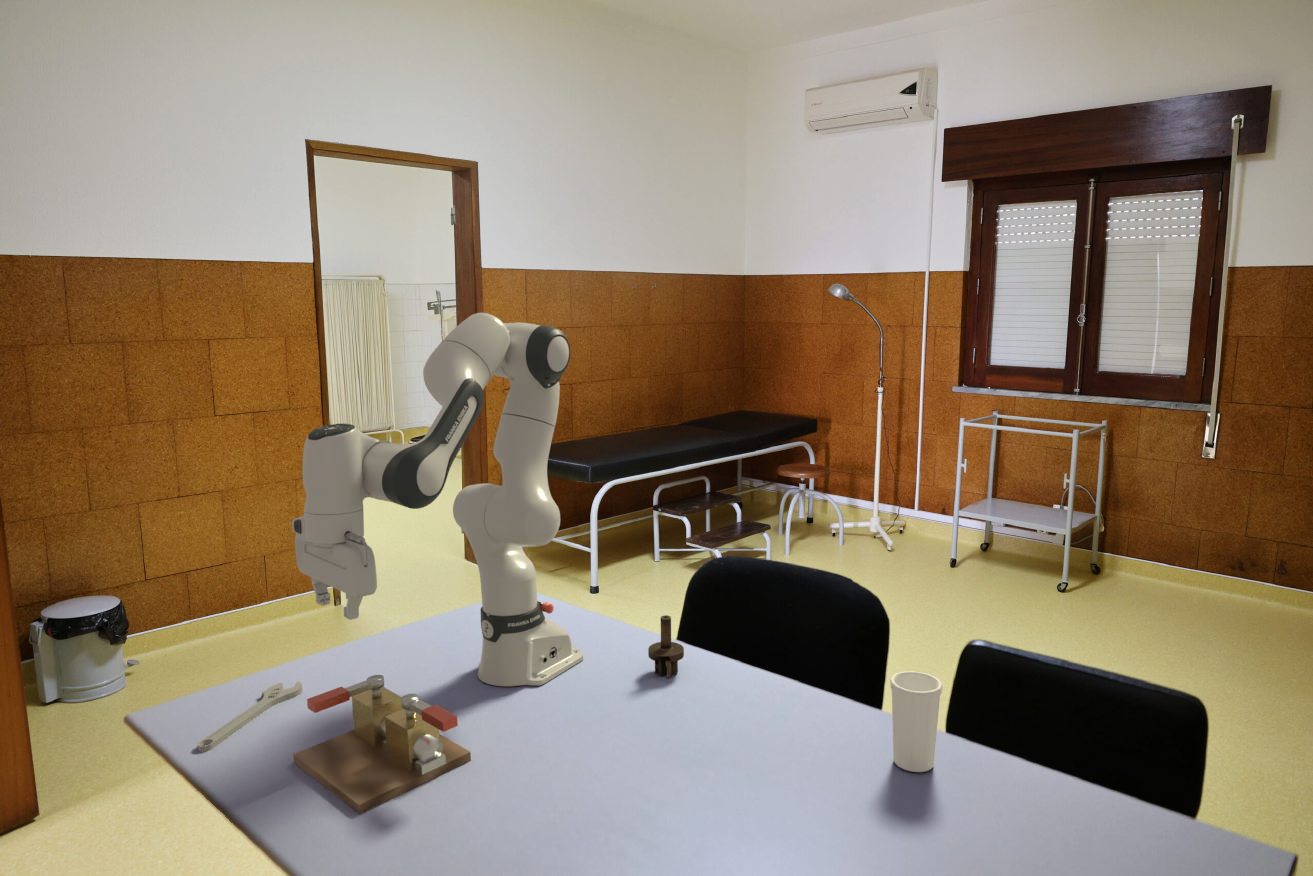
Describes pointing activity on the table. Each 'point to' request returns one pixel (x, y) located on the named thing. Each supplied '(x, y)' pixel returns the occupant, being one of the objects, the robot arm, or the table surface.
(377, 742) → the pipe manifold
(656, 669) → the industrial component
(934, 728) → the cup
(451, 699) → the table surface
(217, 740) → the adjustable wrench
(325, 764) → the base board
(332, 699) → the valve lever
